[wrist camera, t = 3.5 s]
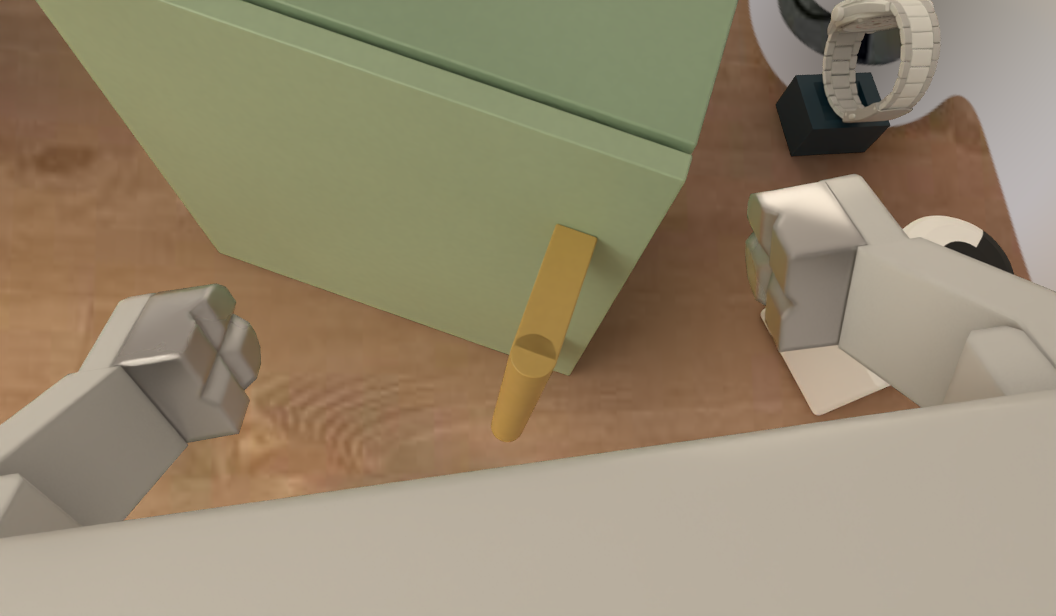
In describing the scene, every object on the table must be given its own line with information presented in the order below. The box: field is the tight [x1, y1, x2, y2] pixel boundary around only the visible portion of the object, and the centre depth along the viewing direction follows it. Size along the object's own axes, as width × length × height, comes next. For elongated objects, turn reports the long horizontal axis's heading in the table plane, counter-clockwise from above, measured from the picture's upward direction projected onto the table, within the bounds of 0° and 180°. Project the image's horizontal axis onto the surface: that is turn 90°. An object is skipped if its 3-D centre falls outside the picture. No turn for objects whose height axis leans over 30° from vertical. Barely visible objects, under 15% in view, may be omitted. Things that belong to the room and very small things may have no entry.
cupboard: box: [242, 0, 738, 155], centre depth 34 cm, size 15×22×22 cm
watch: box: [776, 0, 940, 156], centre depth 44 cm, size 6×8×11 cm
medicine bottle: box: [761, 216, 1014, 415], centre depth 37 cm, size 7×7×12 cm
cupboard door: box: [36, 0, 692, 442], centre depth 30 cm, size 7×22×22 cm, turn 71°
